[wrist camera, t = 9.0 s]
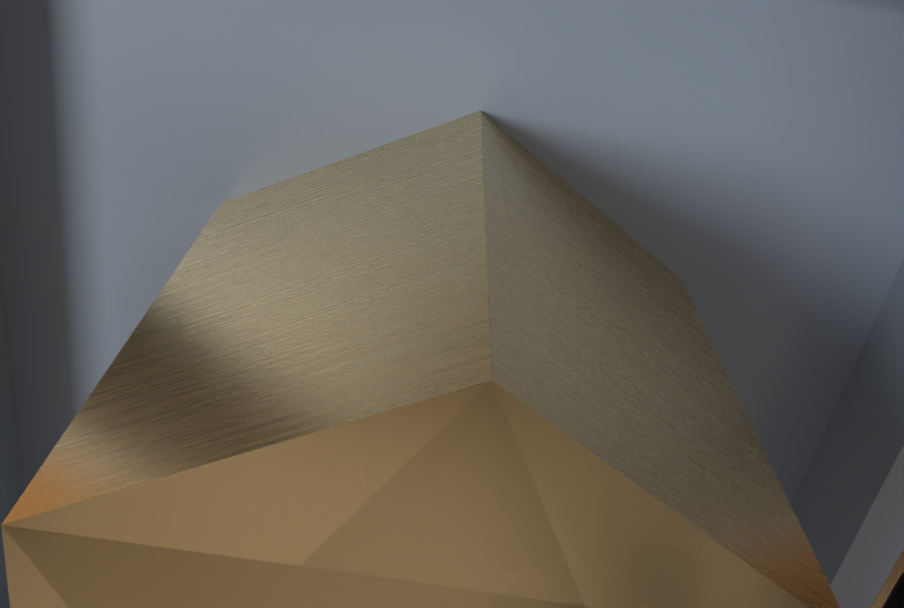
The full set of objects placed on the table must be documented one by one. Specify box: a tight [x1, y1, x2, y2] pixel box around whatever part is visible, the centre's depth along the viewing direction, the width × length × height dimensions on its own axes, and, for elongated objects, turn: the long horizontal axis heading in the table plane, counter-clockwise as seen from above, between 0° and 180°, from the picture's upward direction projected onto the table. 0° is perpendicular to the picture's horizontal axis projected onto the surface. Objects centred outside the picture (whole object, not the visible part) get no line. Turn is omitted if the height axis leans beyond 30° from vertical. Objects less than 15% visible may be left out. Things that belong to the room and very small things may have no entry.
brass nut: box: [1, 110, 840, 608], centre depth 8 cm, size 6×5×5 cm
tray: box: [0, 0, 904, 608], centre depth 10 cm, size 11×11×2 cm
